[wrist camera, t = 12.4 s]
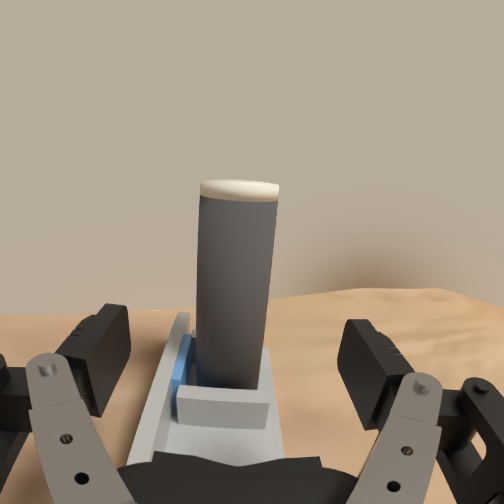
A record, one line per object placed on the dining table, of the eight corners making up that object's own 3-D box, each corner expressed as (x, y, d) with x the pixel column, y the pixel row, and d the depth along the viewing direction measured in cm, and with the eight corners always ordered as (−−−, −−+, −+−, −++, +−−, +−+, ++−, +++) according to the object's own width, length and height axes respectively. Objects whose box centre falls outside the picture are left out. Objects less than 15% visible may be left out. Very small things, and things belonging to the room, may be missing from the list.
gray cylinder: (193, 404, 19) (195, 182, 15) (200, 367, 24) (205, 177, 20) (258, 408, 20) (283, 188, 16) (256, 370, 24) (274, 182, 20)
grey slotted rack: (114, 648, 3) (83, 646, 2) (179, 350, 28) (178, 311, 26) (308, 659, 3) (336, 663, 2) (266, 356, 28) (271, 318, 27)
